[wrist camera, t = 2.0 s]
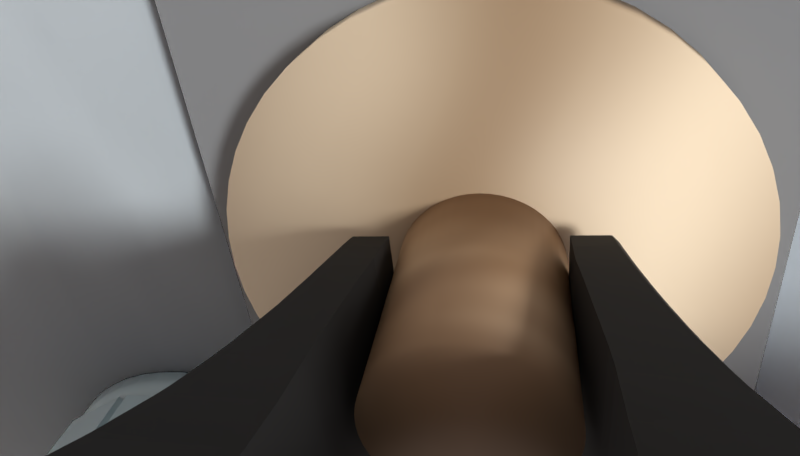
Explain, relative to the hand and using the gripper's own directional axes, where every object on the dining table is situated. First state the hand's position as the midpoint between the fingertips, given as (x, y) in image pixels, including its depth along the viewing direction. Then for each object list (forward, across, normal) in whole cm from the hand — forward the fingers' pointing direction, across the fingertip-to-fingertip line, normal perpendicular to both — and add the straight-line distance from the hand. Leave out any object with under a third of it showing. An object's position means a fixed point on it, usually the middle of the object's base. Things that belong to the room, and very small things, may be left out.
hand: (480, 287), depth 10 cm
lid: (+1, 0, 0) cm, 1 cm away
